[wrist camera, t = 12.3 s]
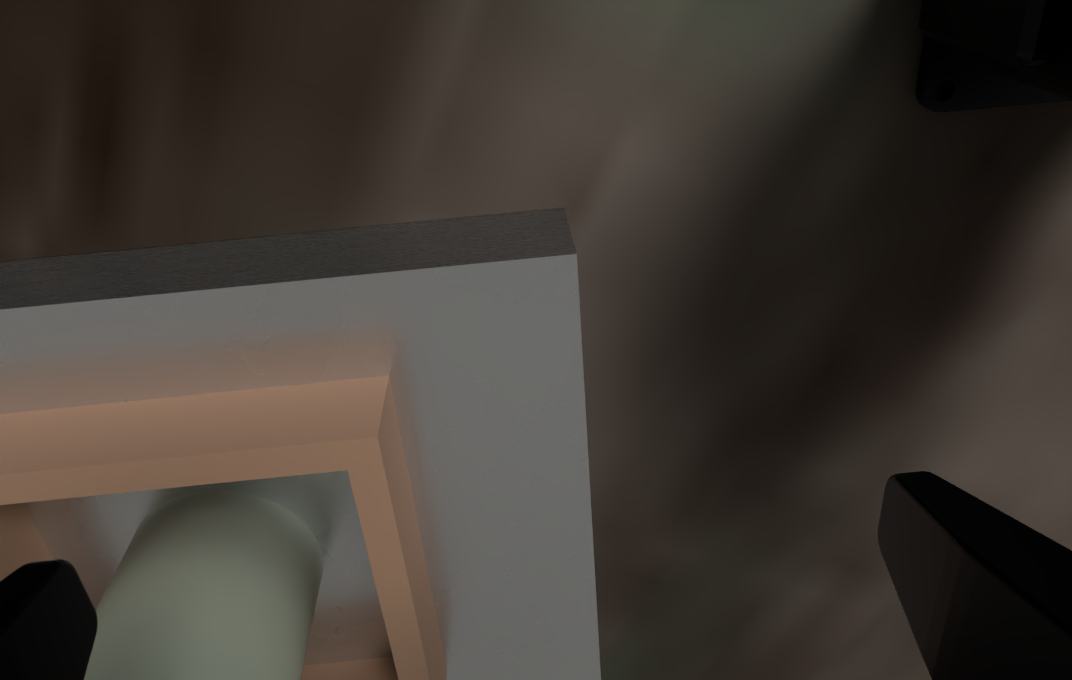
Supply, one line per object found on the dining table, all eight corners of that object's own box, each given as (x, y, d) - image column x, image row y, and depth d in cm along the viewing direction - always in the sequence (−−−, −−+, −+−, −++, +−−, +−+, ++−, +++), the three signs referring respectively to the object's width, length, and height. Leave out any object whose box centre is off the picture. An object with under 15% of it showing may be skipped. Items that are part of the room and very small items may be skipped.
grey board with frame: (564, 208, 21) (590, 303, 16) (591, 634, 29) (613, 784, 24) (-219, 282, 20) (-432, 403, 16) (26, 693, 28) (-67, 857, 23)
